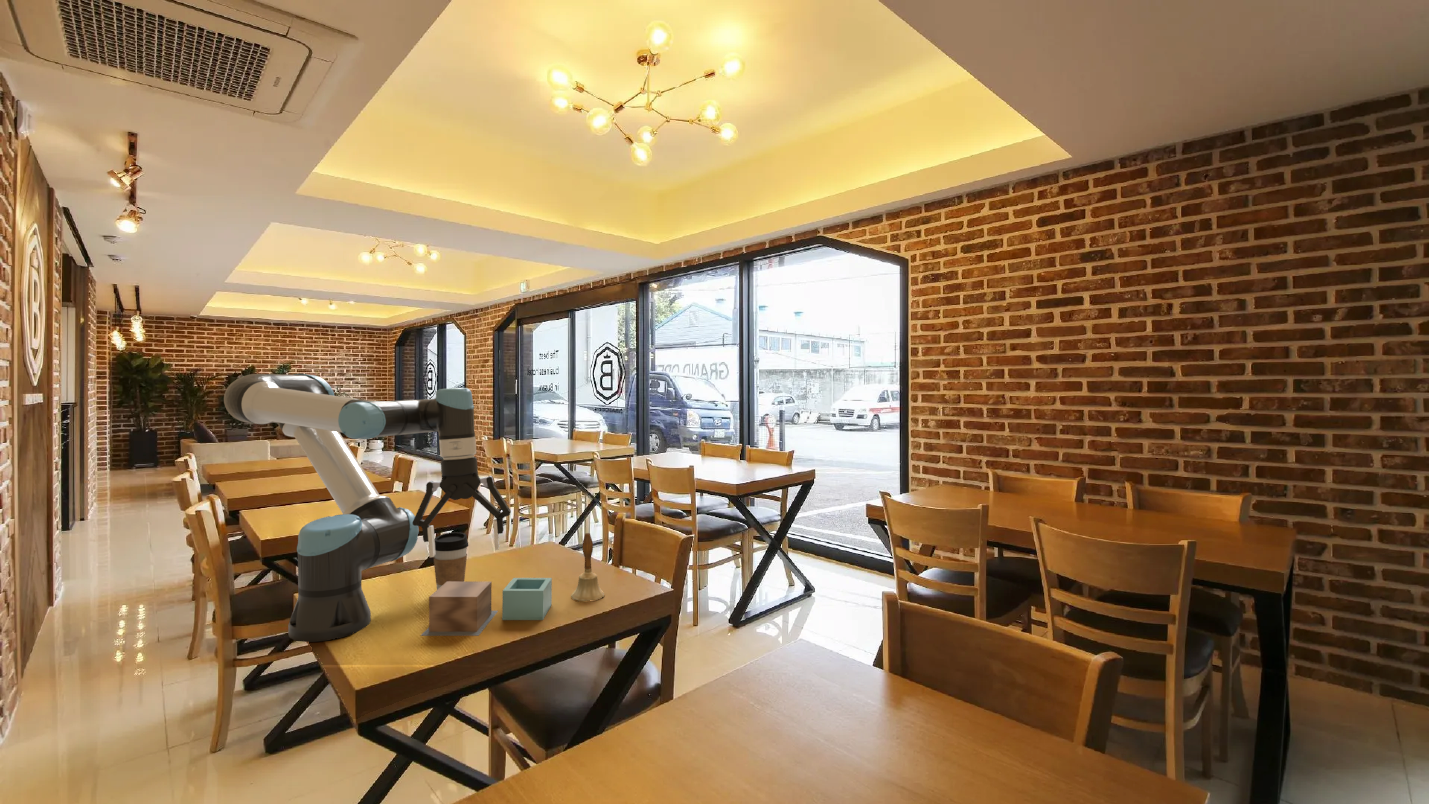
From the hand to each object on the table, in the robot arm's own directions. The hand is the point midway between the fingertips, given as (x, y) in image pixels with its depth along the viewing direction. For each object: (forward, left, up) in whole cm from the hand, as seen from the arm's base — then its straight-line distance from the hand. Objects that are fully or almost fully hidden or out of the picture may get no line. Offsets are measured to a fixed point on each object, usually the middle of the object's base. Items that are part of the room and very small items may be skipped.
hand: (465, 552), depth 140 cm
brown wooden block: (0, -2, -15) cm, 15 cm away
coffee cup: (-9, +16, -16) cm, 24 cm away
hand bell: (+25, +16, -16) cm, 33 cm away
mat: (0, -2, -16) cm, 16 cm away
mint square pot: (+13, +4, -16) cm, 21 cm away
